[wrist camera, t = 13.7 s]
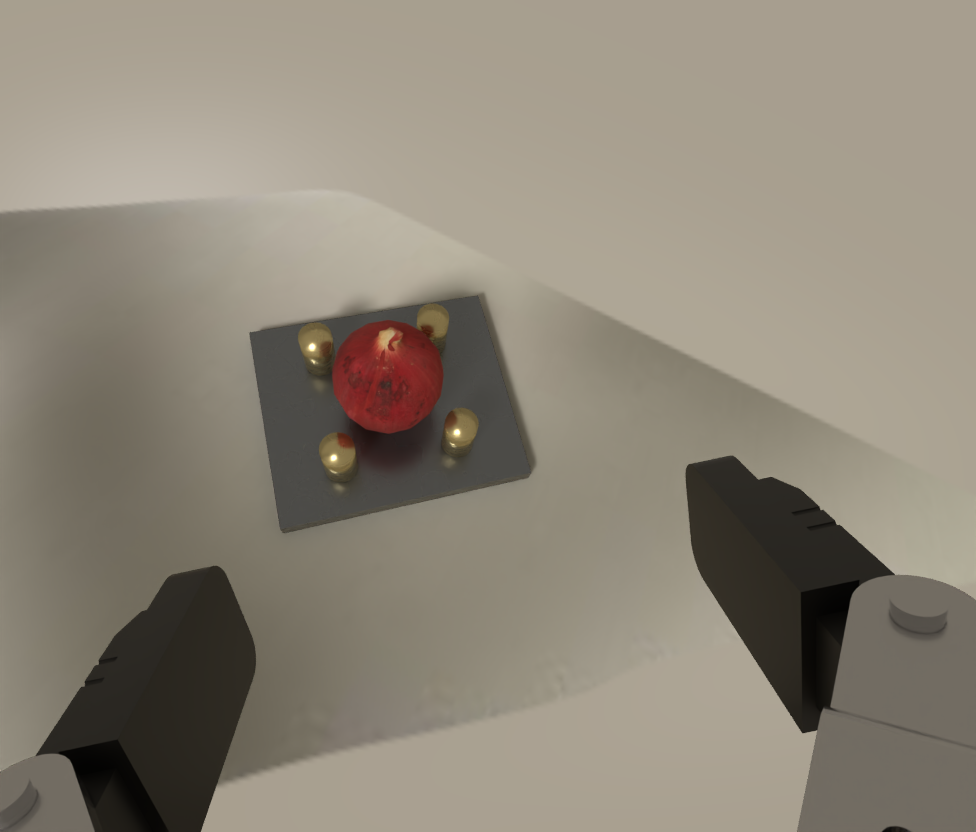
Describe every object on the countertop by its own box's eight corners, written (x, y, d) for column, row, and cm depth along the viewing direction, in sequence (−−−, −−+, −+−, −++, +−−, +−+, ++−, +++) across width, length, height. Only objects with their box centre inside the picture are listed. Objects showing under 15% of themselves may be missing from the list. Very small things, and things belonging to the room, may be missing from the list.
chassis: (283, 533, 35) (270, 515, 32) (252, 340, 39) (237, 305, 36) (527, 477, 38) (541, 455, 35) (476, 304, 42) (483, 268, 39)
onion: (430, 459, 37) (438, 403, 30) (328, 442, 37) (311, 381, 29) (445, 368, 39) (457, 295, 32) (350, 351, 39) (339, 274, 32)
